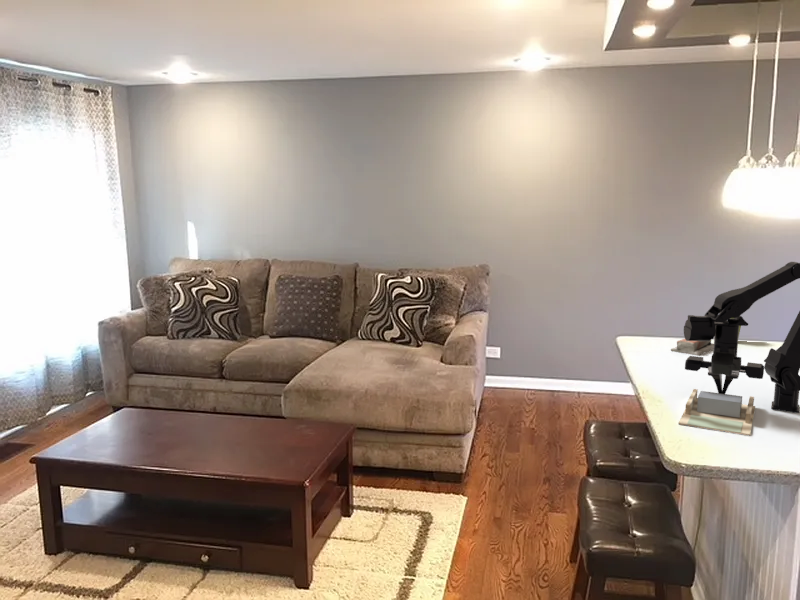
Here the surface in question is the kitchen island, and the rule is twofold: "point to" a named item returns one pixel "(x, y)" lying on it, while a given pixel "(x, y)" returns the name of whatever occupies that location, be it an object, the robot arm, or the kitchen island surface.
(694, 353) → the packaged product
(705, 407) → the slate block
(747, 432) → the beige wooden tray
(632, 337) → the kitchen island surface
